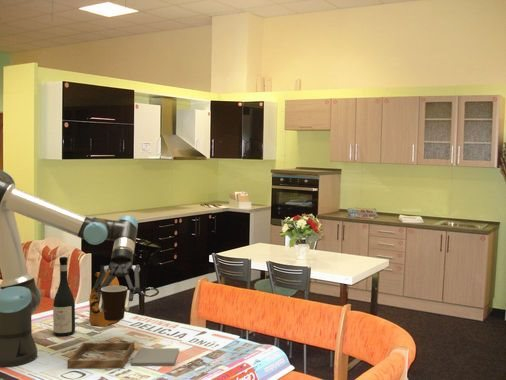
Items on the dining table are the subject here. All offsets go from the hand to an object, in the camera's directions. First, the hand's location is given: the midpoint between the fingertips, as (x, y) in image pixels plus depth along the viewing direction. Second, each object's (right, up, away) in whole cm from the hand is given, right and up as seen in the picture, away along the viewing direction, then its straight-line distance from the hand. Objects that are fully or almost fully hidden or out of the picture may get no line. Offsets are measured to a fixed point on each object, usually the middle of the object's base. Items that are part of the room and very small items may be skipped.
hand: (113, 309), depth 179 cm
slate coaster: (+13, -18, +4) cm, 22 cm away
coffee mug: (0, -4, +4) cm, 5 cm away
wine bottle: (-27, -17, +31) cm, 45 cm away
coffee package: (-16, -16, +46) cm, 51 cm away
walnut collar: (-5, -18, +4) cm, 18 cm away
